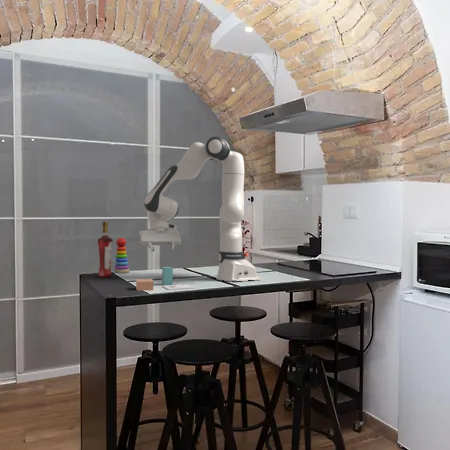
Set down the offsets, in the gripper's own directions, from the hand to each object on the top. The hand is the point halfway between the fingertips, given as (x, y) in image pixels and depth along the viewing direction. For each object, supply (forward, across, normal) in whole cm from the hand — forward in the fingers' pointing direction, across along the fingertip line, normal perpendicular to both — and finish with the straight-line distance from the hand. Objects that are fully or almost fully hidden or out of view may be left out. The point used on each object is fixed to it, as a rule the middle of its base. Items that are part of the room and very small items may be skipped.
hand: (162, 250), depth 232 cm
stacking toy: (-12, -16, +33) cm, 38 cm away
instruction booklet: (+25, +3, -5) cm, 26 cm away
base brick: (+26, -12, -4) cm, 29 cm away
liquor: (-2, -26, +23) cm, 35 cm away
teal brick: (+19, 0, +2) cm, 19 cm away
